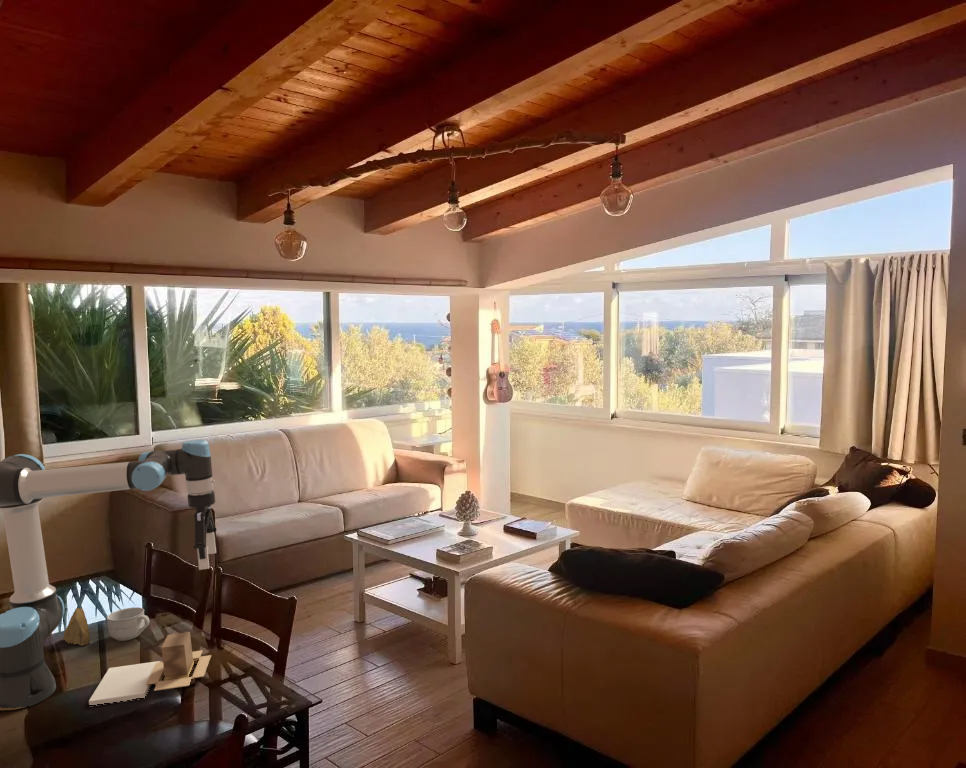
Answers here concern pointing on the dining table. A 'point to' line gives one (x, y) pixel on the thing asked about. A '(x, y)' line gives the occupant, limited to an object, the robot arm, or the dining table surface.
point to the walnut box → (177, 656)
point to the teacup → (127, 623)
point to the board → (123, 684)
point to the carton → (181, 682)
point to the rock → (77, 629)
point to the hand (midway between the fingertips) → (207, 561)
